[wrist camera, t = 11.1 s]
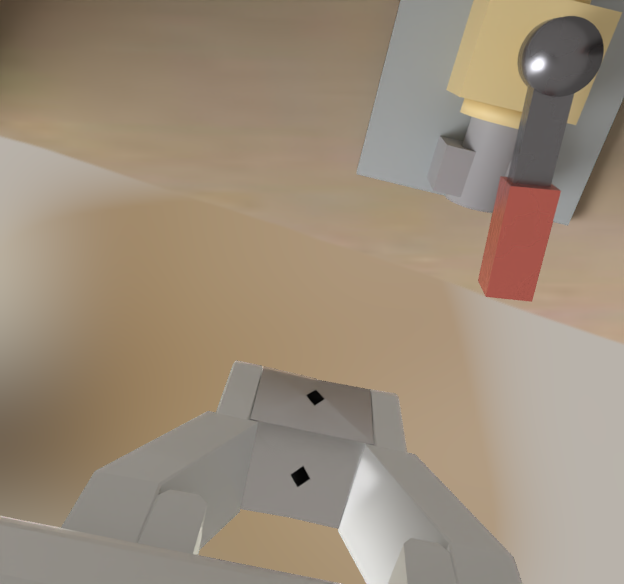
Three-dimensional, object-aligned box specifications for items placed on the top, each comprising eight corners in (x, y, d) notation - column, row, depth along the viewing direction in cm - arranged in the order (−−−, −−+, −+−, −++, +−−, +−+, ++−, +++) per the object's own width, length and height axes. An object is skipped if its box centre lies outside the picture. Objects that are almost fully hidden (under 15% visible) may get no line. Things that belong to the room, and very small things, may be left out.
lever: (469, 279, 34) (476, 295, 31) (524, 15, 28) (538, 12, 25) (529, 285, 33) (540, 302, 31) (597, 20, 27) (617, 18, 25)
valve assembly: (562, 220, 41) (616, 268, 32) (356, 170, 41) (353, 204, 32) (696, -90, 33) (818, -142, 24) (439, -153, 33) (465, -228, 24)
